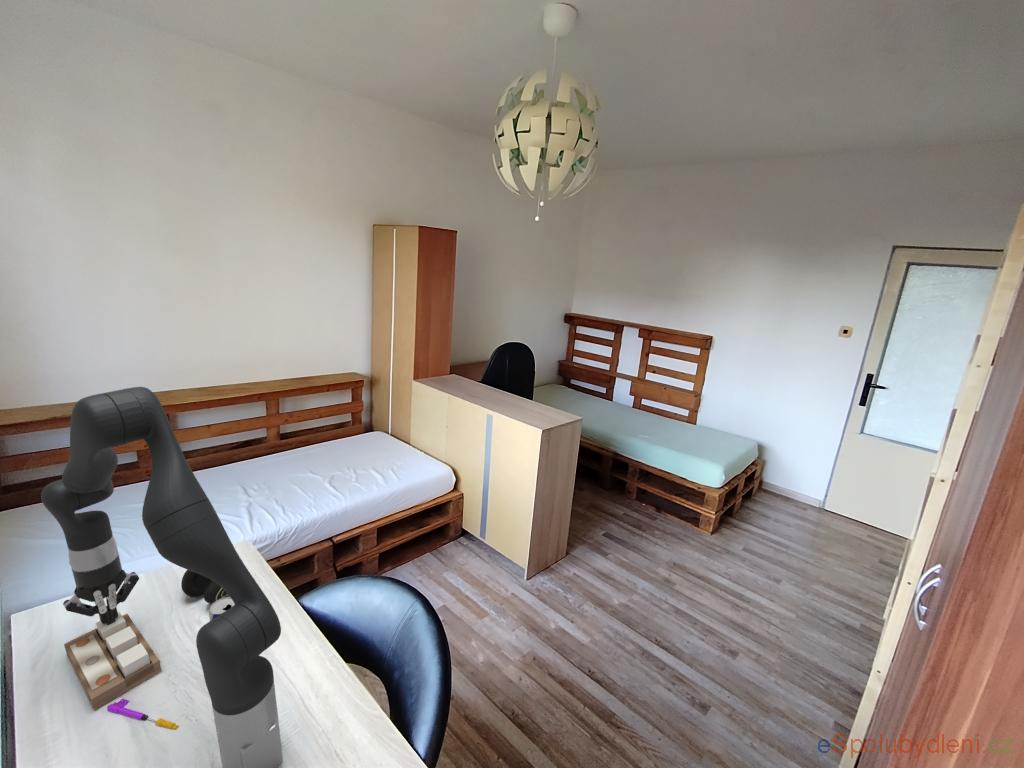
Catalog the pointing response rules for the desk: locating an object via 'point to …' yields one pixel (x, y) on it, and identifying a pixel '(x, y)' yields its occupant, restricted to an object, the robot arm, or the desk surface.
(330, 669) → the desk surface
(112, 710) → the purple-handled probe tool
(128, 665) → the button
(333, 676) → the desk surface
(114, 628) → the button
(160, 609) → the desk surface
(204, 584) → the headphones
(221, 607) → the energy drink
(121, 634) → the button middle
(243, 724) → the robot arm
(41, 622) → the desk surface
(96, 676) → the button board
